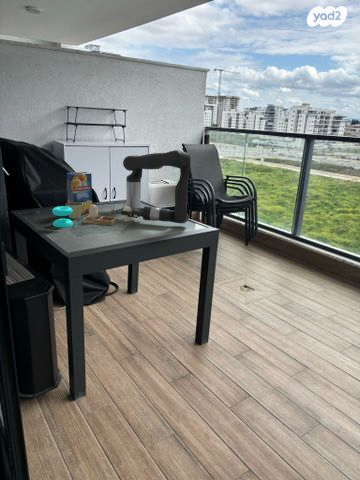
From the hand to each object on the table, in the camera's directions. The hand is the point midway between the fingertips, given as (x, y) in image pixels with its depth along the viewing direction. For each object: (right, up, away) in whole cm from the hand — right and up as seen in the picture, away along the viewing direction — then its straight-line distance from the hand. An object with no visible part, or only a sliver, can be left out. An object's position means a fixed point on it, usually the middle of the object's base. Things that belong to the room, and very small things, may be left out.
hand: (122, 211), depth 206 cm
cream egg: (+2, -6, +2) cm, 7 cm away
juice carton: (-28, 0, +15) cm, 31 cm away
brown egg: (-16, -6, -3) cm, 17 cm away
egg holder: (-12, -7, -4) cm, 14 cm away
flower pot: (-28, -4, +3) cm, 28 cm away
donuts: (-30, -9, -12) cm, 33 cm away
